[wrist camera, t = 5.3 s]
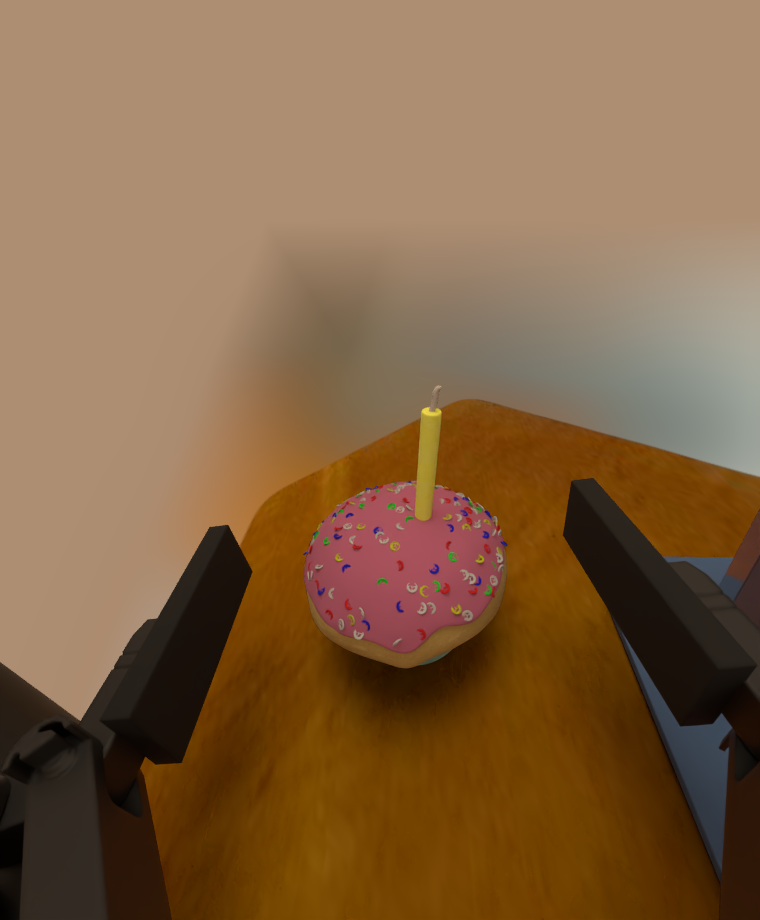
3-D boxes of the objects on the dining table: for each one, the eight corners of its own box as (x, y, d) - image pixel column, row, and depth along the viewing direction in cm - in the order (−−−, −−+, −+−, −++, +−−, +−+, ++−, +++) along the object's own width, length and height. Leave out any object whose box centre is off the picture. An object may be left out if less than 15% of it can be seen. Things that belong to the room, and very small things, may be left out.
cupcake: (485, 549, 21) (484, 339, 14) (529, 717, 14) (566, 448, 7) (341, 559, 22) (280, 369, 15) (311, 720, 15) (176, 490, 8)
